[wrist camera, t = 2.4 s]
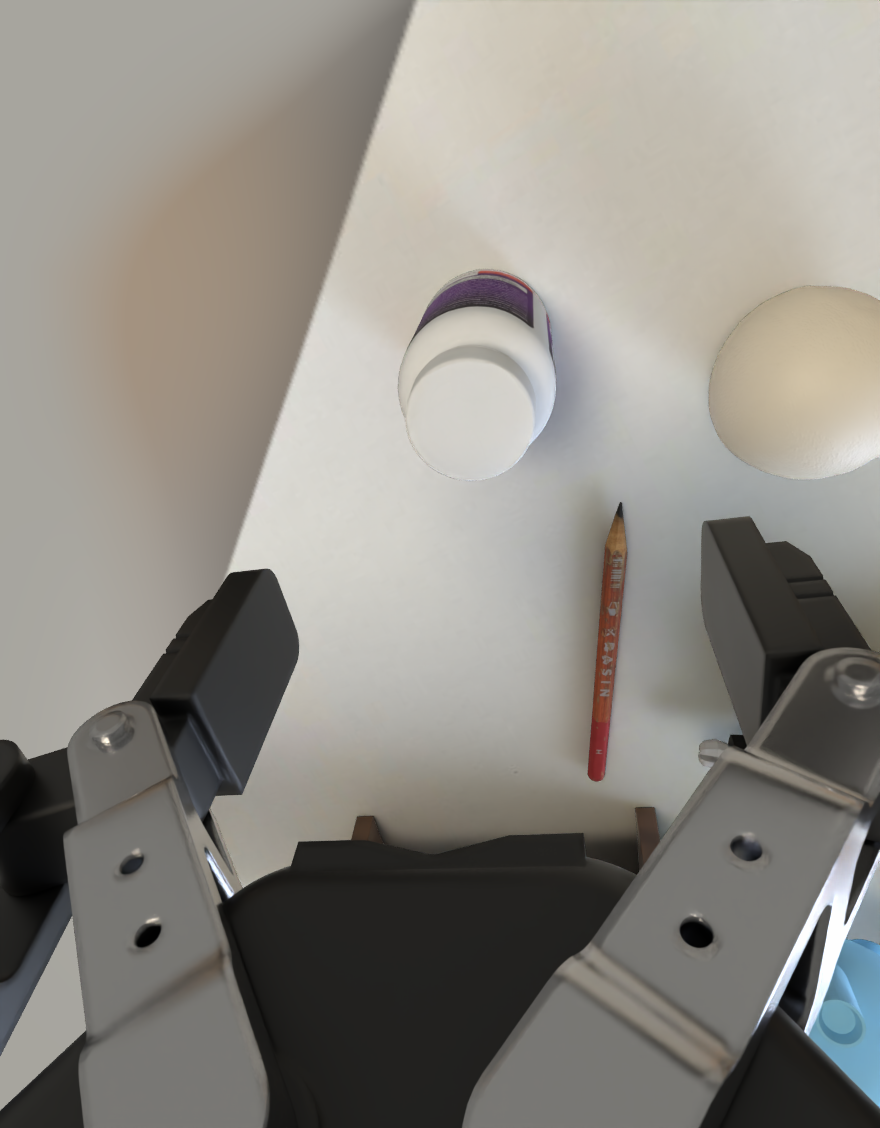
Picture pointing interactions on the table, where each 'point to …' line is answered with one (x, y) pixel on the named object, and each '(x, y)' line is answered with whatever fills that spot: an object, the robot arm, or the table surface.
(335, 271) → the table surface
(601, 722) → the pencil
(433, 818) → the table surface
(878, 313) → the cream round ball
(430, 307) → the pill bottle
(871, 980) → the teapot
